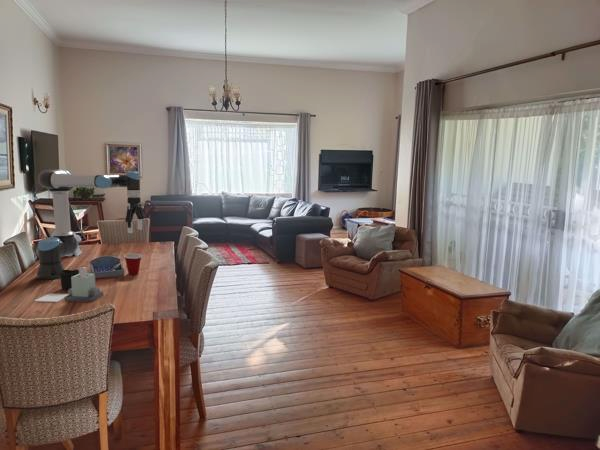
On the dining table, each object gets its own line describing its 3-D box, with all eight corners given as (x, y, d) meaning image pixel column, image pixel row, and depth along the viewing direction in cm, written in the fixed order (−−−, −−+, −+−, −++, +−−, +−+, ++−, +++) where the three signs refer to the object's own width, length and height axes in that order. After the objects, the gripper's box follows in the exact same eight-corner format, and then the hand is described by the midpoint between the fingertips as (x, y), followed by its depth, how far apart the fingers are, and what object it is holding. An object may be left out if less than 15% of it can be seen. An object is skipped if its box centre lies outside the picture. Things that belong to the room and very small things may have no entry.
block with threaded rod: (64, 300, 223) (62, 270, 220) (78, 293, 235) (76, 264, 232) (90, 301, 222) (89, 271, 219) (103, 294, 233) (101, 265, 231)
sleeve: (72, 296, 224) (71, 277, 223) (81, 291, 232) (80, 273, 231) (87, 296, 224) (86, 277, 222) (95, 292, 231) (94, 273, 230)
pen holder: (67, 291, 238) (65, 273, 236) (57, 289, 243) (56, 271, 241) (83, 287, 246) (82, 270, 244) (73, 285, 251) (72, 268, 249)
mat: (34, 301, 221) (34, 300, 221) (49, 294, 233) (49, 293, 233) (57, 302, 220) (57, 301, 220) (71, 295, 232) (71, 294, 232)
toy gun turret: (87, 254, 331) (86, 230, 329) (70, 257, 320) (69, 233, 318) (78, 252, 338) (77, 229, 335) (61, 255, 327) (60, 231, 324)
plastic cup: (136, 276, 271) (136, 257, 269) (121, 275, 273) (120, 256, 271) (146, 272, 281) (145, 253, 280) (131, 271, 283) (130, 253, 282)
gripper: (130, 198, 256) (132, 234, 259) (148, 195, 280) (149, 228, 283) (118, 198, 256) (119, 234, 259) (136, 195, 281) (138, 228, 284)
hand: (135, 231), depth 271 cm, fingers open, 13 cm apart
